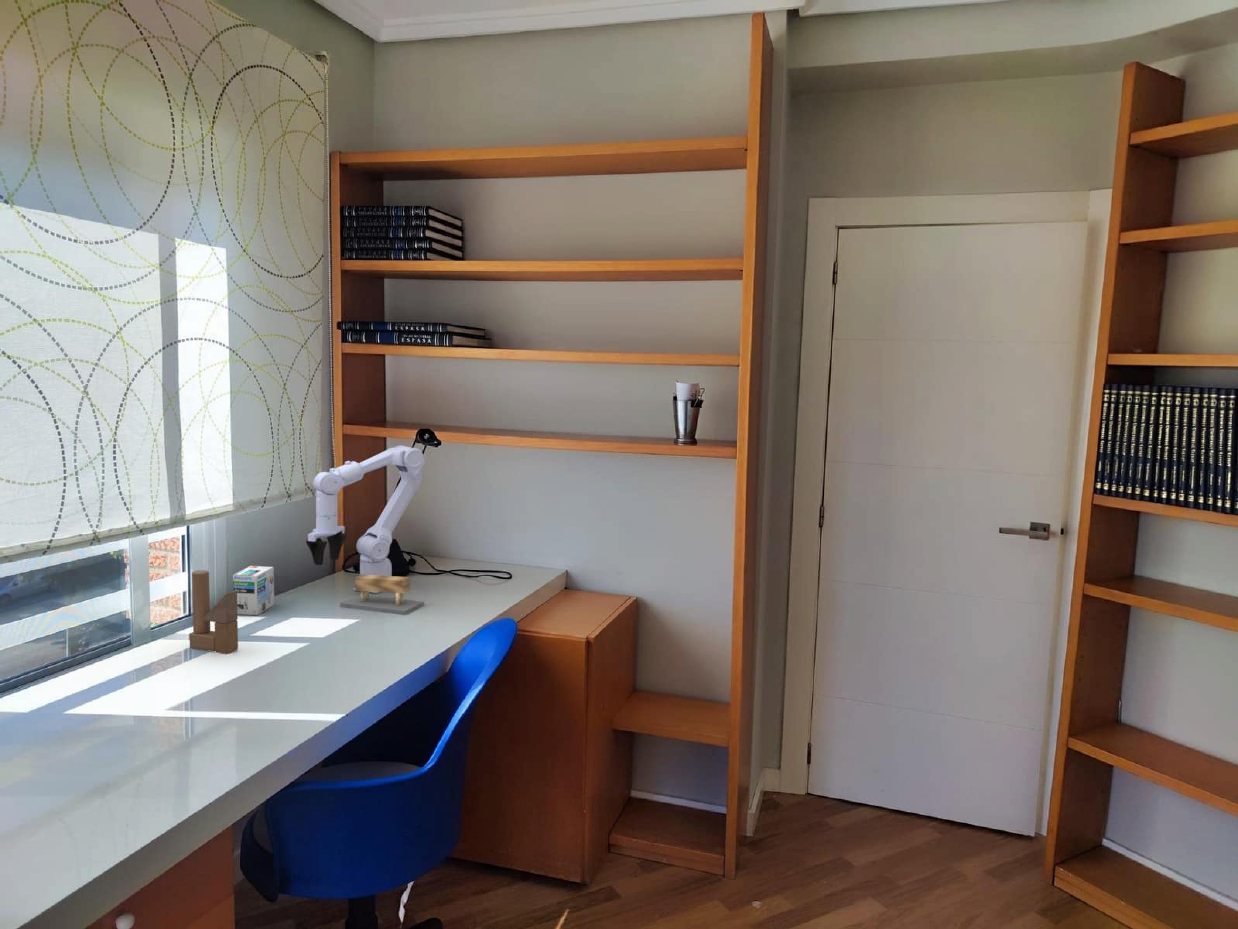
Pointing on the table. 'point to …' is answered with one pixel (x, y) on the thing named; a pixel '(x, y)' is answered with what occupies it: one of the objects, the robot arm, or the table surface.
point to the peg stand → (382, 603)
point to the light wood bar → (382, 583)
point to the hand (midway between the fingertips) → (326, 562)
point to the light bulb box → (254, 589)
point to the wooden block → (213, 617)
